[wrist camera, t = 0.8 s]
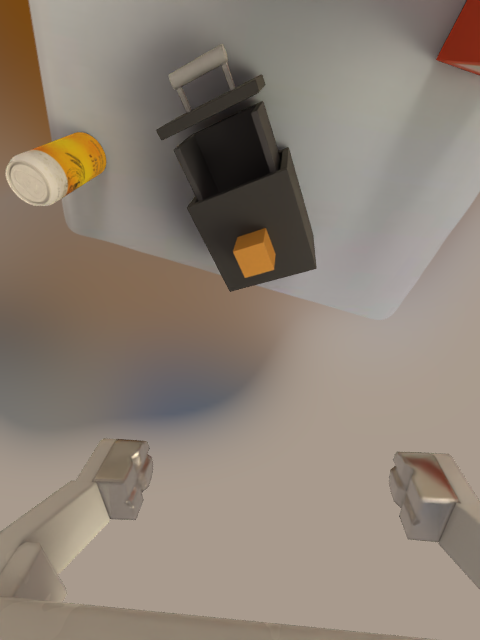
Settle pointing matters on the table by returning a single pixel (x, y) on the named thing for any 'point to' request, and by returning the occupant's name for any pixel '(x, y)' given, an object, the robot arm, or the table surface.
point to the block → (255, 253)
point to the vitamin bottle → (55, 168)
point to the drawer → (222, 132)
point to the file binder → (464, 40)
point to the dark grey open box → (258, 224)
